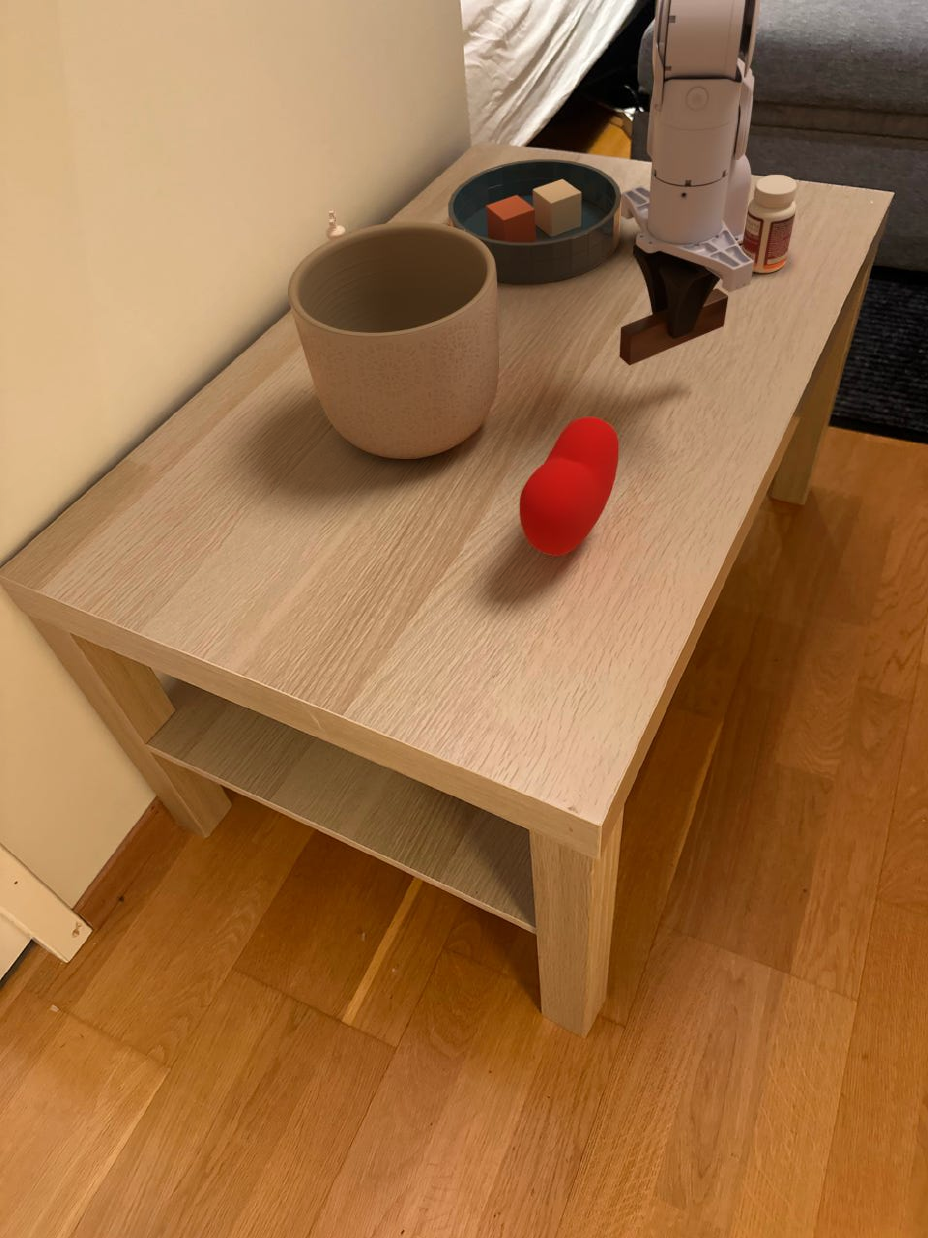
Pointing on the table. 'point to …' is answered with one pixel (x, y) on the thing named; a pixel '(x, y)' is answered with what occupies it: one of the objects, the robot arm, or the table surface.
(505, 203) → the terracotta block
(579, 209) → the cream block
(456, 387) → the planter
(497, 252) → the bowl
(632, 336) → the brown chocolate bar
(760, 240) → the pill bottle
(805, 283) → the table surface
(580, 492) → the heart
